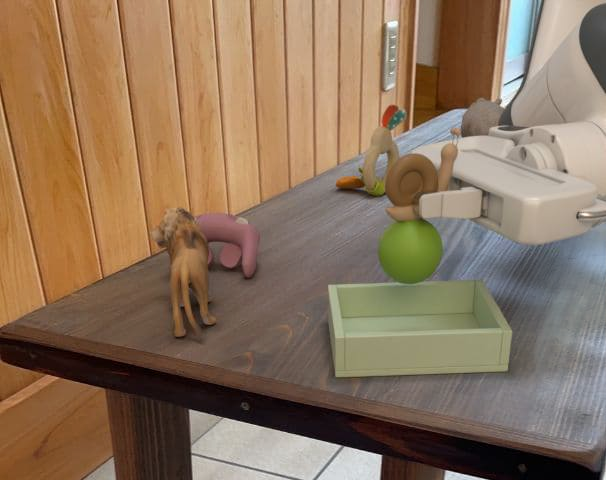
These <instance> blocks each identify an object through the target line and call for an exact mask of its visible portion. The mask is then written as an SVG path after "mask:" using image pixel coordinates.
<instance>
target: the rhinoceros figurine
mask: <svg viewBox="0 0 606 480" xmlns="http://www.w3.org/2000/svg"><path fill="white" fill-rule="evenodd" d="M502 103H503V99H502V98H498V97H497V98H496V99H495V101H492V100H487V99H485V98H484V97H479V98H478V99H476V101H475V102H472V103H471V104H470V106H469V107H468V108H467V110H466V111H465V112H464V114H463V115H462V118H461V123H460V128H459V129H460V130H461V134H460V138H463V137H470V136H480V135H486V136H488V134H489V129H490V128H492V127H496V126H498V122H499V119H500V116H501V114H502V112H503V111H504V109H505V107H503V106H501V105H502Z"/></svg>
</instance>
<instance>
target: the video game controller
mask: <svg viewBox="0 0 606 480" xmlns="http://www.w3.org/2000/svg"><path fill="white" fill-rule="evenodd" d="M193 216H194V215H193ZM194 218H195V221H196V222H197V223H198V224H199V226H200V227H201V230H202V233H203V235H204V236H205V237H206V239H207V244H208V248H209V256H208V268H210V267H211V266H212V265H213V264H214V262H215V253H214V251H213V249H212V248H211V246H210V243H225V244H226V245H224V247H223V248H221V251H220V254H219V261H220V263H221V265H223V266H224V267H225V268H227V269H230V270H235V269H237V268H238V267H240V265H241V267H242V272H243V275H244V277H245V278H248V279H250V278H251V277H252V276H253V275H254V273H255V270H256V267H257V262H258V255H259V244H260V241H261V233H260V232H259V229H258V228H257V227H256V226H255V225H254V224H253V223H251V222H250V221H248V220H247V219H245V218H244V217H241V216H237V215H233V214H230V213H223V212H206V213H205V212H204V213H202V214H198V215H195V216H194ZM171 266H172V264H171V262H170V258H169V257H168V268H169V272H170V273H171Z"/></svg>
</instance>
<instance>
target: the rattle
mask: <svg viewBox="0 0 606 480" xmlns="http://www.w3.org/2000/svg"><path fill="white" fill-rule="evenodd" d="M407 114H408V113H407V112H406V109H403V108H400V107H399V106H398V105H397V104H389V105H388V106H387V107H386V108H385V110H384V112H383V114H382V117H381V126H378V127H377V128H375V129H374V130H373V132H372V135H371V138H370V145H369V148H368V150H367V152H366V154H365V156H364V160H363V166H359V167H358V172H359V173H360V174H361V175H360V177H359V176H356V175H352V176H351V175H350V176H344V177H339V178H338V179H337V180H336V182H335V187H336V188H338V189H342V190H354V189H362V188H364V189H365V191H366V192H367V194H369V195H371V196H374V197H379V196H382V195H384V194H386V191H385V181H386V177H387V174H388V171H389V169H390V168H391V166H392V165H393V164H394V163H395V162H396V161H397V160H398V159H399V158H400V151H399V147H398V145H397V143H396V141H394V140H393V136H392V132H391V131H393V130H394V129H396V127H398V126H399V125H400V124H402V123H403V122H404V121H406V120H407ZM384 154H386V157H387V163H386V168H385V172H384V175H383V176H381V178H378V177H377V176H376V165H377V161H378V159H379V157H380V155H384Z"/></svg>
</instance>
